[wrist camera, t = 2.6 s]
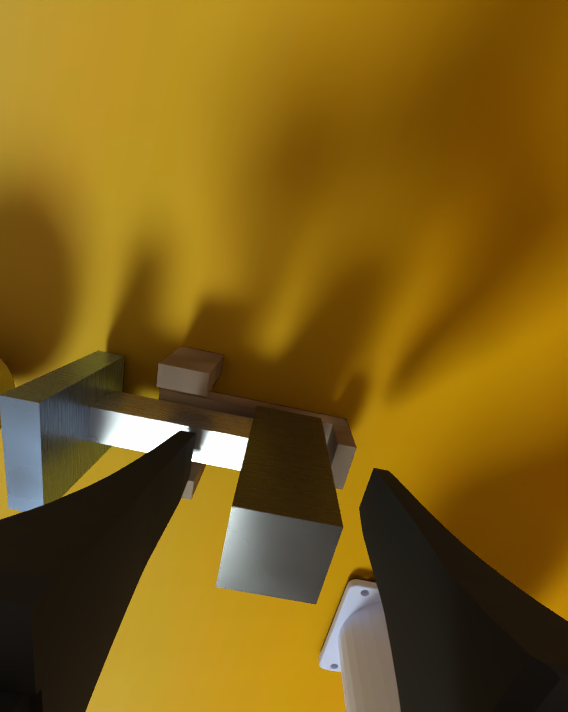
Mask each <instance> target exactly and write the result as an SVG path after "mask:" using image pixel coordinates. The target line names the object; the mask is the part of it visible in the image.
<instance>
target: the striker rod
mask: <svg viewBox="0 0 568 712" xmlns="http://www.w3.org/2000/svg"><path fill="white" fill-rule="evenodd" d="M123 374H124V356H122V355H117V354H112V353H107V352H102V351H96V352H94V353H92V354H90V355H87V356H85V357H83V358H81V359H78V360H76V361H74V362H72V363H70V364H67V365H65V366H63V367H61V368H58V369H56V370H54V371H52V372H49V373H47V374H45V375H43V376H41V377H38V378H36V379H34V380H32V381H29V382H27V383H25V384H23V385H20V386H18V387H16V388H14V389H12V390H9V391H7V392H5V393H3V394H0V414H1V425H2V437H3V448H4V460H5V471H6V483H7V494H8V506H9V509H13V510H19V511H24V512H25V511H28V510H31V509H34V508H36V507H39V506H42V505H45V504H47V503H50V502H52V501H55V500H57V499H60V498H61V497H62V496H63V495H64V494H65V493H66V492H67V491H68V490H69V489H70V488H71V487H72V486H73V485H74V484H75V483H76V482H77V481H78V480H79V479H80V478H81V477H82V476H83V475H84V474H85V473H86V472H87V471H88V470H89V469H90V468H91V467H92V466H93V465H94V464H95V463H96V462H97V461H98V460H99V458H100V457H101V456H102V455H103V454H104V453H105V452H106V451H107V450H108V449H109V448H110V447H111V446H117V447H122V448H127V449H132V450H137V451H143V452H149V451H151V450H152V449H154V448H155V447H157V446H158V445H159V444H161V443H162V442H164V441H165V440H167V439H168V438H169V437H171V436H172V435H174V434H175V433H177V432H178V431H180V430H183V431H188V432H193V433H196V436H195V443H194V450H193V457H192V461H195V462H200V463H205V464H210V465H215V466H221V467H226V468H231V469H236V470H241V471H240V475H239V479H238V483H237V487H236V492H235V496H234V500H233V504H232V508H231V513H230V518H229V523H228V528H227V533H226V538H225V543H224V548H223V553H222V558H221V563H220V568H219V573H218V578H217V583H216V587H219V588H225V589H231V590H237V591H242V592H248V593H254V594H260V595H265V596H271V597H277V598H282V599H288V600H294V601H300V602H305V603H311V604H316V603H317V600H318V597H319V594H320V591H321V589H322V586H323V583H324V580H325V577H326V574H327V572H328V569H329V566H330V563H331V560H332V557H333V555H334V552H335V549H336V546H337V543H338V540H339V538H340V535H341V532H342V529H343V524H342V519H341V514H340V509H339V504H338V499H337V494H336V489H335V484H334V479H333V474H332V469H331V464H330V459H329V454H328V449H327V444H326V439H325V434H324V429H323V424H322V419H321V418H318V417H313V416H308V415H303V414H298V413H293V412H288V411H283V410H278V409H273V408H268V407H264V406H259V405H256V409H255V413H254V417H253V418H248V417H243V416H238V415H233V414H228V413H223V412H218V411H213V410H208V409H203V408H198V407H193V406H188V405H183V404H178V403H173V402H168V401H163V400H158V399H153V398H148V397H143V396H138V395H133V394H128V393H123Z"/></svg>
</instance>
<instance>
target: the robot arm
mask: <svg viewBox="0 0 568 712" xmlns="http://www.w3.org/2000/svg"><path fill="white" fill-rule="evenodd" d="M195 436H196V433H193V432H188V431H183V430H180V431H178V432H177V433H175V434H174V435H172V436H171V437H169V438H168V439H167V440H165V441H164V442H162V443H161V444H159V445H158V446H157V447H155V448H154V449H152V450H151V451H149V452H148V453H146V454H145V455H143V456H142V457H140V458H139V459H137V460H135V461H134V462H132V463H130V464H129V465H127V466H125V467H124V468H122V469H120V470H119V471H117V472H115V473H113V474H112V475H110V476H108V477H106V478H104V479H102V480H100V481H98V482H96V483H94V484H92V485H90V486H88V487H85V488H83V489H81V490H79V491H76V492H74V493H71V494H69V495H67V496H64V497H62V498H60V499H57V500H55V501H52V502H50V503H47V504H45V505H42V506H39V507H36V508H34V509H31V510H28V511H25V512H22V513H19V514H16V515H13V516H10V517H7V518H4V519H1V520H0V712H85V711H86V709H87V706H88V703H89V701H90V698H91V696H92V693H93V691H94V688H95V686H96V683H97V681H98V678H99V676H100V673H101V671H102V668H103V666H104V663H105V661H106V658H107V656H108V653H109V651H110V648H111V646H112V643H113V641H114V639H115V636H116V634H117V631H118V629H119V627H120V624H121V622H122V619H123V617H124V615H125V612H126V610H127V607H128V605H129V603H130V600H131V598H132V596H133V593H134V591H135V589H136V586H137V584H138V582H139V579H140V577H141V575H142V572H143V570H144V568H145V566H146V564H147V562H148V560H149V558H150V556H151V554H152V552H153V551H154V549H155V547H156V545H157V543H158V541H159V539H160V537H161V536H162V534H163V532H164V530H165V528H166V526H167V524H168V523H169V521H170V519H171V517H172V515H173V513H174V511H175V509H176V507H177V506H178V504H179V502H180V500H181V497H182V495H183V492H184V490H185V487H186V485H187V482H188V479H189V477H190V471H191V464H192V457H193V450H194V443H195ZM359 510H360V518H361V525H362V531H363V536H364V540H365V544H366V548H367V551H368V555H369V559H370V562H371V566H372V569H373V573H374V576H375V580H376V583H375V582H370V581H364V580H359V579H353V580H351V581H349V582H348V584H347V586H346V589H345V592H344V594H343V597H342V599H341V602H340V605H339V607H338V610H337V612H336V615H335V617H334V620H333V623H332V625H331V628H330V630H329V633H328V635H327V638H326V641H325V643H324V646H323V648H322V651H321V654H320V656H319V665H320V667H321V668H323V669H326V670H332V671H338V672H341V674H342V682H343V690H344V698H345V706H346V712H568V621H566V620H565V619H563V618H562V617H560V616H559V615H557V614H556V613H554V612H553V611H551V610H550V609H548V608H547V607H545V606H544V605H542V604H541V603H539V602H538V601H536V600H535V599H534V598H532V597H531V596H529V595H528V594H526V593H525V592H524V591H522V590H521V589H519V588H518V587H517V586H515V585H514V584H513V583H511V582H510V581H509V580H507V579H506V578H505V577H503V576H502V575H501V574H499V573H498V572H497V571H495V570H494V569H493V568H491V567H490V566H489V565H488V564H486V563H485V562H484V561H483V560H481V559H480V558H479V557H478V556H477V555H475V554H474V553H473V552H472V551H471V550H469V549H468V548H467V547H466V546H465V545H464V544H462V543H461V542H460V541H459V540H458V539H457V538H456V537H455V536H454V535H452V534H451V533H450V532H449V531H448V530H447V529H446V528H445V527H444V526H443V525H442V524H441V523H440V522H439V521H438V520H437V519H436V518H435V517H434V516H433V515H432V514H431V513H430V512H429V511H428V510H427V509H426V508H425V507H424V506H423V505H422V504H421V503H420V502H419V501H418V500H417V499H416V498H415V497H414V496H413V495H412V494H411V493H410V492H409V491H408V490H407V489H406V488H405V487H404V486H403V485H402V484H401V483H400V481H399V480H398V479H397V478H396V477H395V476H394V475H392V474H391V473H390V472H389V471H387V470H382V469H377V468H374V469H373V471H372V474H371V477H370V480H369V482H368V485H367V488H366V491H365V493H364V496H363V499H362V502H361V504H360V507H359Z"/></svg>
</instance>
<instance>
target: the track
mask: <svg viewBox="0 0 568 712" xmlns="http://www.w3.org/2000/svg"><path fill="white" fill-rule="evenodd" d="M223 356H224V355H222V354H217V353H212V352H207V351H203V350H198V349H193V348H188V347H184V346H181V347H180V348H178V349H177V350H176V351H174V352H173V353H171V354H170V355H169V356H167V357H166V358H165V359H163V360H162V361H161V362H159V363H158V374H157V385H156V387H161V389H160V394H159V400H163V401H168V402H173V403H178V404H183V405H188V406H193V407H198V408H203V409H208V410H213V411H218V412H223V413H228V414H233V415H238V416H243V417H248V418H253V417H254V413H255V409H256V405H259V406H264V407H268V408H273V409H278V410H283V411H288V412H293V413H298V414H303V415H308V416H313V417H318V418H321V419H322V424H323V429H324V434H325V439H326V444H327V449H328V454H329V459H330V464H331V469H332V474H333V479H334V484H335V488H338V489H343V486H344V483H345V480H346V477H347V474H348V471H349V468H350V466H351V463H352V460H353V457H354V454H355V451H356V445H355V442H354V439H353V437H352V434H351V431H350V428H349V426H348V423H347V420H346V419H343V418H338V417H334V416H329V415H324V414H319V413H314V412H309V411H304V410H299V409H294V408H289V407H284V406H279V405H274V404H269V403H265V402H260V401H255V400H250V399H245V398H240V397H235V396H230V395H225V394H220V393H215V392H210V390H211V389H212V387H213V385H214V384H215V382H216V381H217V379H218V378H219V376H220V374H221V369H222V362H223ZM205 466H206V464H205V463H200V462H195V461H192V464H191V471H190V477H189V479H188V482H187V485H186V487H185V490H184V492H183V495H182V497H181V498H186V499H192V497H193V494H194V492H195V490H196V487H197V485H198V482H199V480H200V478H201V475H202V473H203V471H204V468H205Z"/></svg>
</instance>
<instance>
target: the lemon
mask: <svg viewBox="0 0 568 712" xmlns="http://www.w3.org/2000/svg"><path fill="white" fill-rule="evenodd" d="M14 388H15V385H14V381H13V377H12V375H11V373H10V371H9V369H8V367H7V366H6V365H5V363H4V362H3V361H2V360H1V359H0V394H3V393H5V392H7V391H9V390H12V389H14ZM1 428H2V425H1V414H0V429H1Z"/></svg>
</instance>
